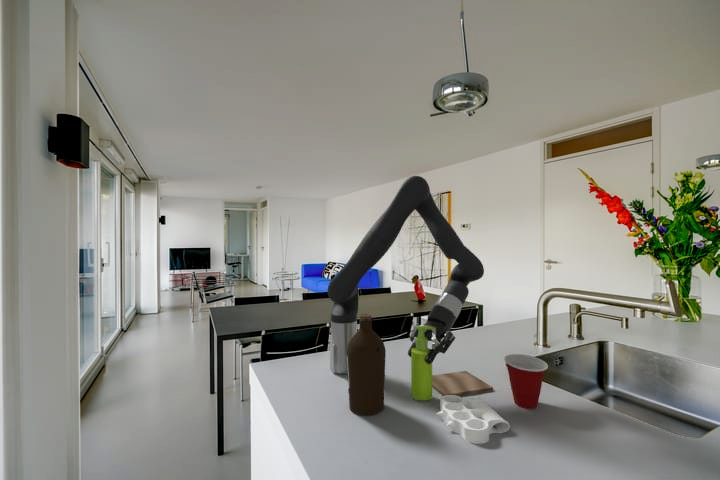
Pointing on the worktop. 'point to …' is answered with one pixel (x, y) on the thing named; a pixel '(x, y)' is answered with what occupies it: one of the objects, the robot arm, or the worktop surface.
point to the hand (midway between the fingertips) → (418, 359)
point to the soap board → (459, 384)
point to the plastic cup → (525, 378)
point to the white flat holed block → (471, 418)
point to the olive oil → (366, 369)
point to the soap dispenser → (421, 367)
